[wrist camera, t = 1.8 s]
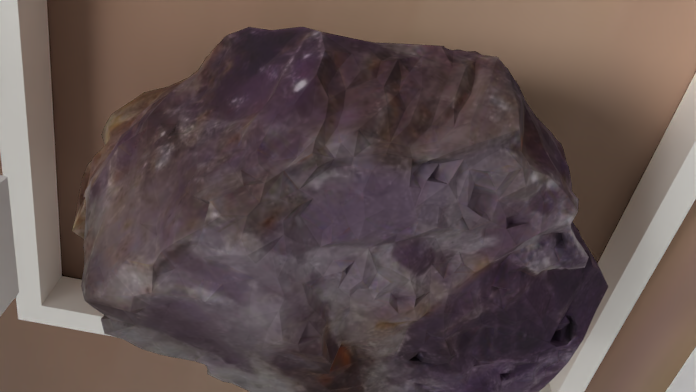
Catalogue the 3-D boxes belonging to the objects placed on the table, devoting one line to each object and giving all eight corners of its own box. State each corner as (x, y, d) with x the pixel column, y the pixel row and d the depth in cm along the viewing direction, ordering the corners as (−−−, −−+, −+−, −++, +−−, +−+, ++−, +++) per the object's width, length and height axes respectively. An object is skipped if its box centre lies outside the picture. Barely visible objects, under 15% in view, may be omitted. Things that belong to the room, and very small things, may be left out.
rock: (431, 283, 23) (600, 29, 17) (494, 528, 16) (804, 231, 11) (88, 194, 19) (167, -155, 14) (-20, 456, 12) (55, -32, 7)
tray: (39, 289, 22) (18, 319, 21) (-8, -308, 13) (-51, -319, 12) (558, 385, 23) (568, 419, 22) (828, -112, 14) (870, -104, 13)
